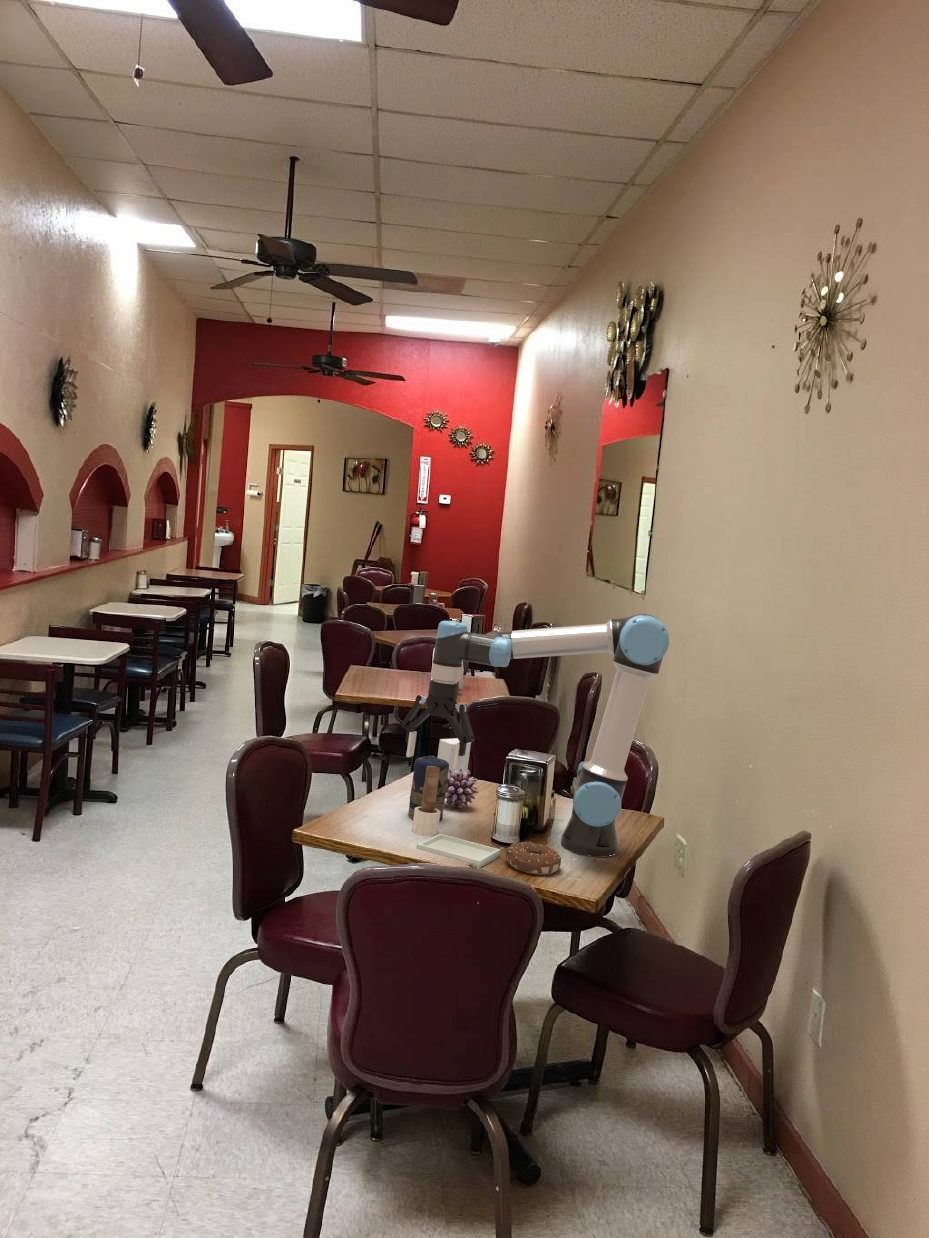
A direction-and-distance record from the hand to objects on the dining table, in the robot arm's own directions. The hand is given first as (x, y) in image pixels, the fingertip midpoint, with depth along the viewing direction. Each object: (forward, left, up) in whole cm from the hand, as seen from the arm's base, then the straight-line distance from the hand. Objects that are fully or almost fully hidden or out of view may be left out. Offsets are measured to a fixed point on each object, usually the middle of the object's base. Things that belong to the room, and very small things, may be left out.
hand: (432, 762), depth 262 cm
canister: (+6, -12, -19) cm, 24 cm away
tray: (-14, +8, -19) cm, 25 cm away
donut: (-31, +3, -20) cm, 37 cm away
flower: (+6, -32, -19) cm, 38 cm away
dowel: (0, 0, -18) cm, 18 cm away
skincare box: (+17, -51, -19) cm, 57 cm away
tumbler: (0, 0, -19) cm, 19 cm away
